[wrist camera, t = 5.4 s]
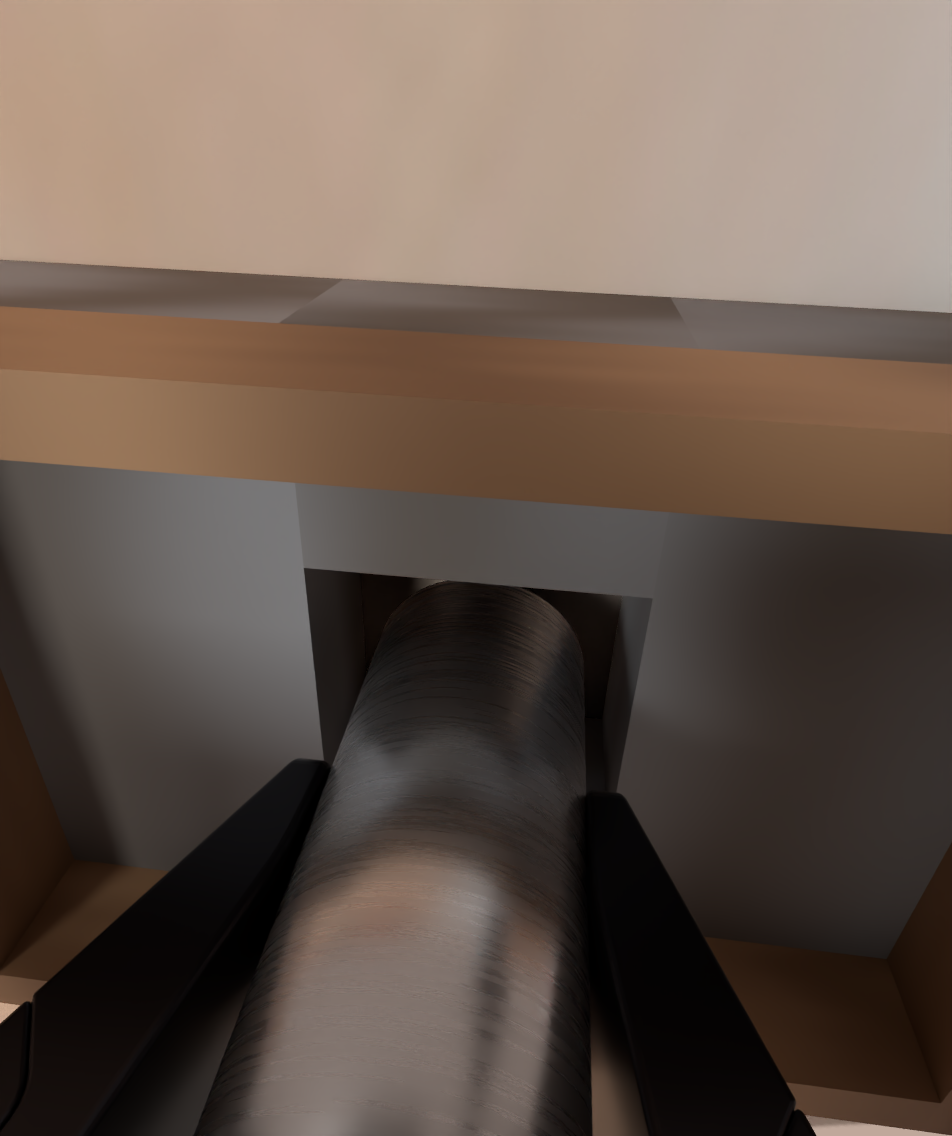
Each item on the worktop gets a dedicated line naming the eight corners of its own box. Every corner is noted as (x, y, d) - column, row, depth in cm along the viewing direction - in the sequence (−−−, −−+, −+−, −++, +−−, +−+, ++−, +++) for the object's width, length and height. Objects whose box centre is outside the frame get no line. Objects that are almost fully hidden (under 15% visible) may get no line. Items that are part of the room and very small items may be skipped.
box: (1126, 323, 9) (1551, 475, 5) (869, 861, 14) (979, 1139, 10) (-46, 256, 10) (-428, 340, 6) (117, 777, 15) (-37, 997, 11)
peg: (595, 588, 10) (642, 1627, 3) (572, 750, 11) (571, 1677, 5) (375, 568, 10) (-36, 1494, 3) (382, 730, 12) (114, 1583, 5)
